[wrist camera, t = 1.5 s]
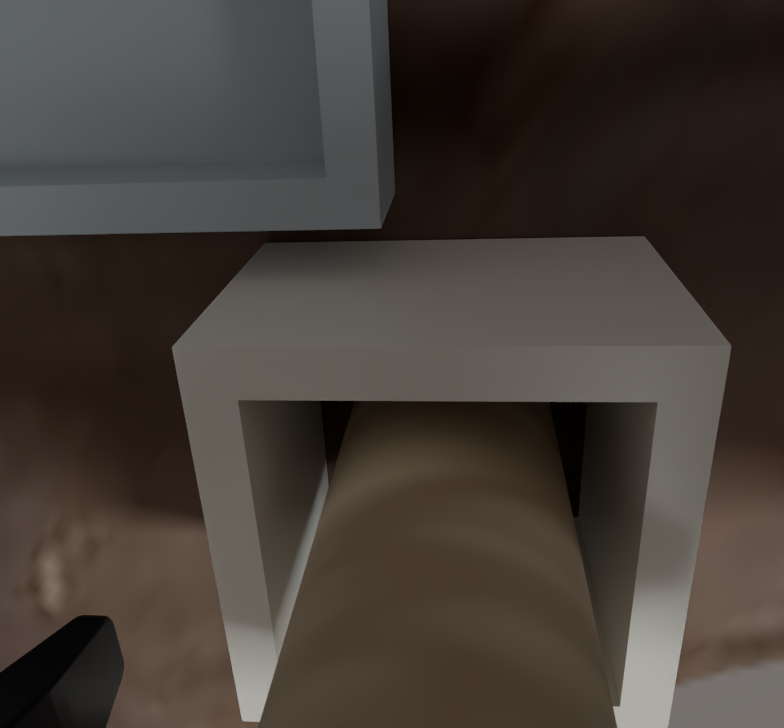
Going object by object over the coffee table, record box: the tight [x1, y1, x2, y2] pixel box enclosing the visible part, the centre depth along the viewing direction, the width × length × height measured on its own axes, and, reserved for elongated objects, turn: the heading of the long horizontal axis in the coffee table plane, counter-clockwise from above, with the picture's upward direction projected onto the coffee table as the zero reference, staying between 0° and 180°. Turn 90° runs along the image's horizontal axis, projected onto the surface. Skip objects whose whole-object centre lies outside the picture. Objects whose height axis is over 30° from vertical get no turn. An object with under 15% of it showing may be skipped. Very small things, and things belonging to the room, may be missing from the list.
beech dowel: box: [258, 401, 617, 728], centre depth 11 cm, size 4×4×11 cm
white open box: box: [172, 236, 731, 728], centre depth 13 cm, size 7×7×5 cm
